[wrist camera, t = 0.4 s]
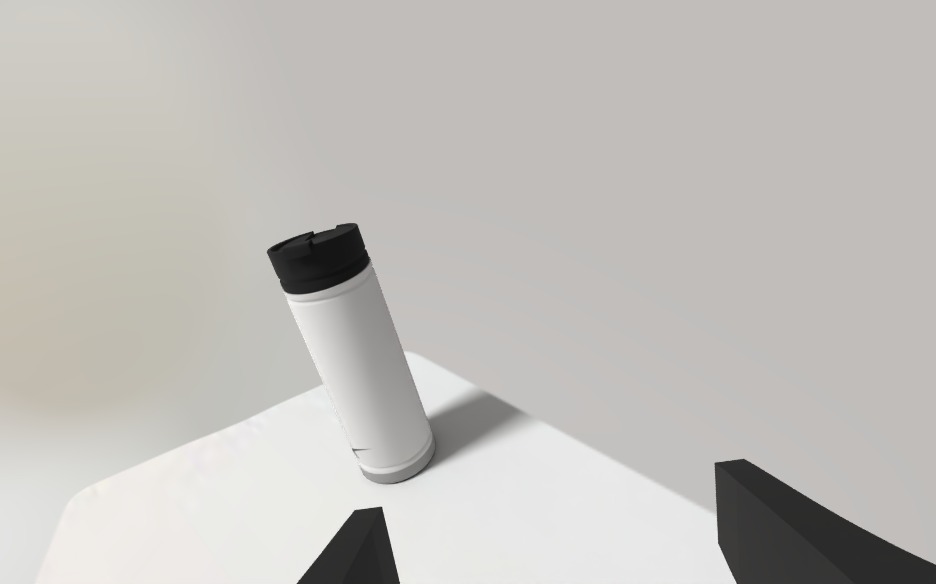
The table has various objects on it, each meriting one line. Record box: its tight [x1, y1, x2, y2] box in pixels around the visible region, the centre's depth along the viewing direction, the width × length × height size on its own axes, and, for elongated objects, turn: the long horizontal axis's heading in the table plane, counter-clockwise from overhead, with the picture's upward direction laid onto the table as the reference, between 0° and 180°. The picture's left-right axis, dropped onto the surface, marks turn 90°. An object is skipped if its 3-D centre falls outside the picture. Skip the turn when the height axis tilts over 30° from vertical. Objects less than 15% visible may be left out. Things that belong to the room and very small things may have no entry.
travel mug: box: [267, 223, 436, 484], centre depth 41 cm, size 6×7×20 cm
